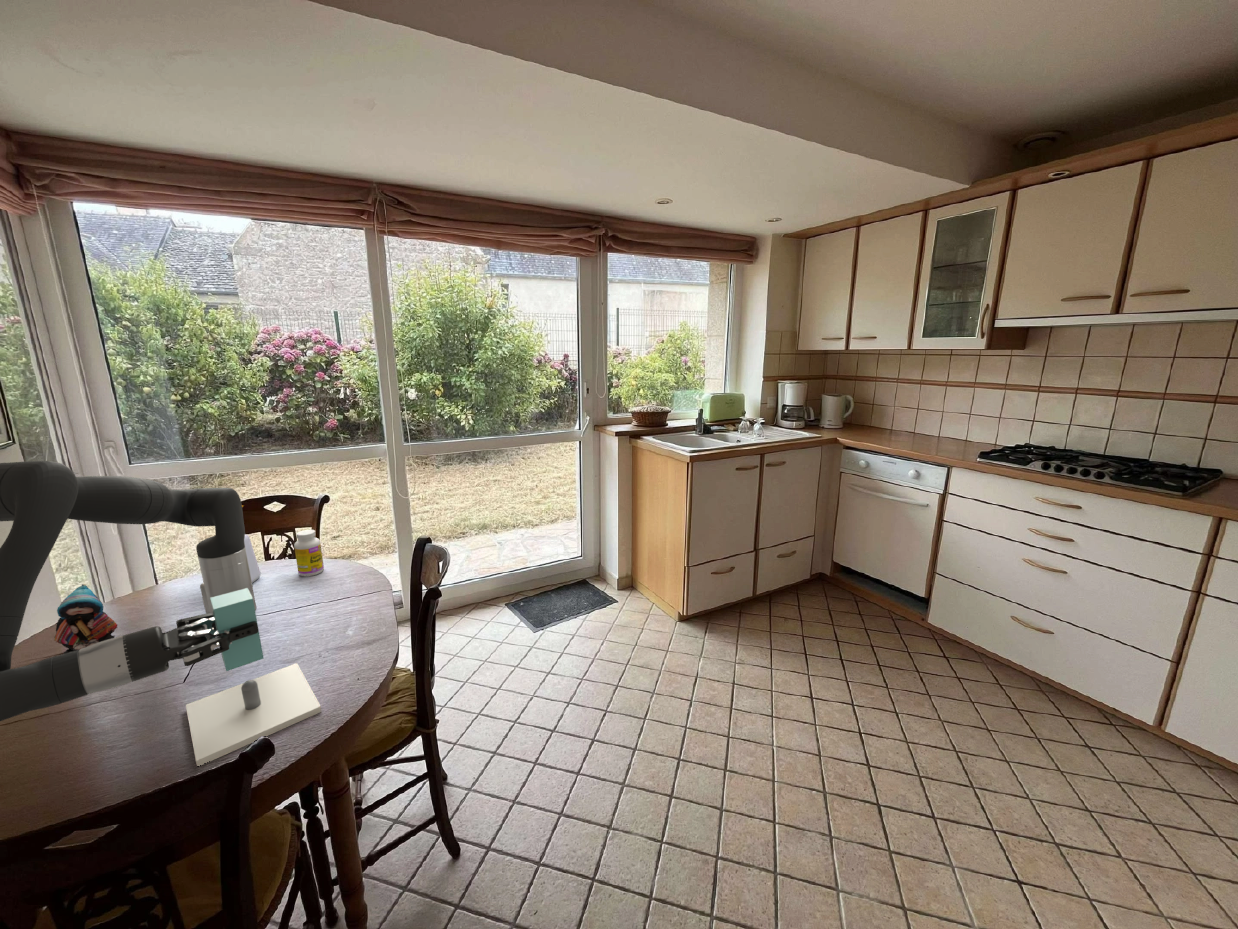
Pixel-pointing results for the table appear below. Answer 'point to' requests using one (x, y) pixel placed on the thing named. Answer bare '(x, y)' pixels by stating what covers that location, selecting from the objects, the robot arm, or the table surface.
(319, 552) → the supplement bottle
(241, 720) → the stub base
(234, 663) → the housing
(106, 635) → the figurine
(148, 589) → the table surface
